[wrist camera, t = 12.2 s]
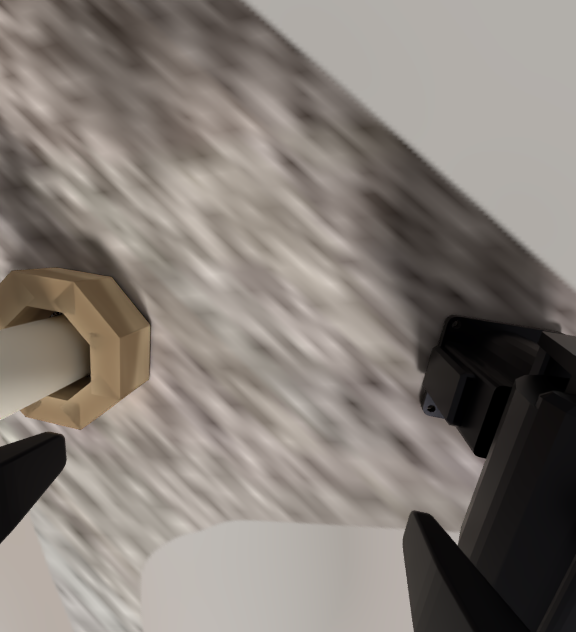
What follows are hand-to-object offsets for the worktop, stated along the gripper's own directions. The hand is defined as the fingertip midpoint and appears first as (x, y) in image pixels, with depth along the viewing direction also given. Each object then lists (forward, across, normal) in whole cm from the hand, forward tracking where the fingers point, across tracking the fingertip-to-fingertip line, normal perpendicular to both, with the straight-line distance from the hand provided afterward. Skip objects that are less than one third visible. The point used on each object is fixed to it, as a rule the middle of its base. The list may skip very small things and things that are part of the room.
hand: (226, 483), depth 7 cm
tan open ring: (+12, +15, +3) cm, 19 cm away
